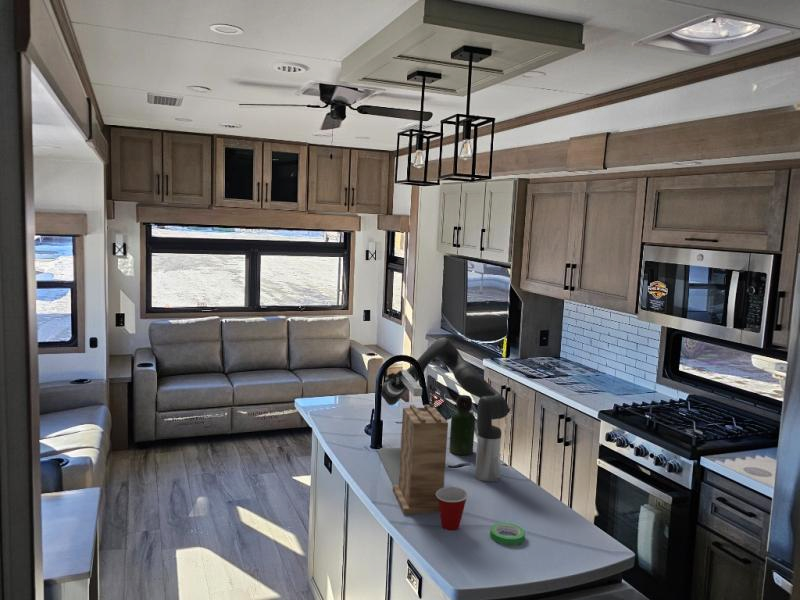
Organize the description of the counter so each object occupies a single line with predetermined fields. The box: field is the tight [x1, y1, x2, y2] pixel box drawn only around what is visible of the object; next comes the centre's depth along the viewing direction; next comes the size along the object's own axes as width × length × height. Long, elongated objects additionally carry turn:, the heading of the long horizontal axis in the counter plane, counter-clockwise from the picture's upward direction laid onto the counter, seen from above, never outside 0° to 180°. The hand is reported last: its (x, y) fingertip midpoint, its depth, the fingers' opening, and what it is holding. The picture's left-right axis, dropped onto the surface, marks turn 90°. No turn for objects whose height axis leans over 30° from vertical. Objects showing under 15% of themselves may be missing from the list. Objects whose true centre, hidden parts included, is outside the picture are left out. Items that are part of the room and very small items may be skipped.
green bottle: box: [448, 394, 476, 456], centre depth 290 cm, size 10×10×25 cm
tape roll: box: [489, 522, 526, 547], centre depth 215 cm, size 11×11×3 cm
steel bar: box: [398, 369, 423, 397], centre depth 259 cm, size 28×3×3 cm, turn 12°
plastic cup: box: [436, 486, 469, 532], centre depth 219 cm, size 11×11×12 cm
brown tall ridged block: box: [392, 404, 449, 515], centre depth 237 cm, size 20×16×33 cm
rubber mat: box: [376, 447, 401, 486], centre depth 270 cm, size 42×14×1 cm, turn 12°
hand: (405, 373), depth 267 cm, fingers closed on steel bar, 3 cm apart
